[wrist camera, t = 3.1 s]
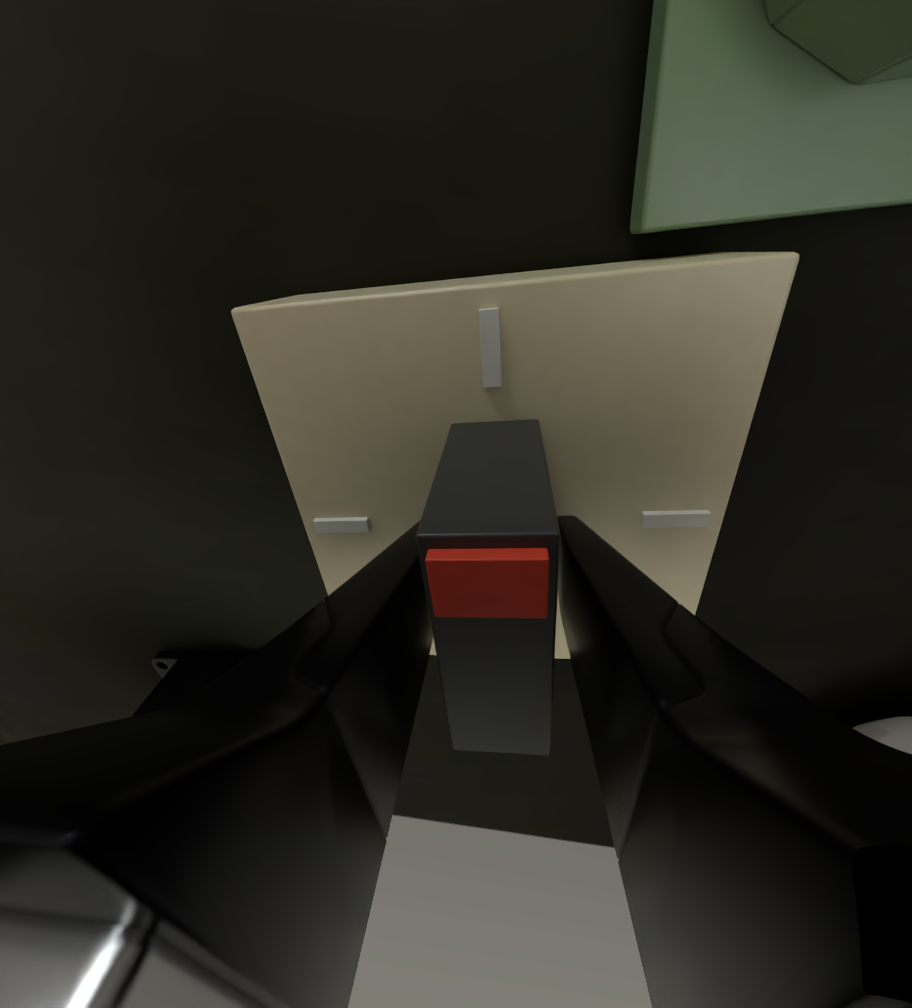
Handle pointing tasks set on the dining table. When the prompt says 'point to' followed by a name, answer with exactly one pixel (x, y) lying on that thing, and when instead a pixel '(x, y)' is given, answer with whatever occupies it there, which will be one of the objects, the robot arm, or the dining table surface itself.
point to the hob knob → (493, 585)
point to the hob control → (526, 398)
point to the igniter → (773, 111)
